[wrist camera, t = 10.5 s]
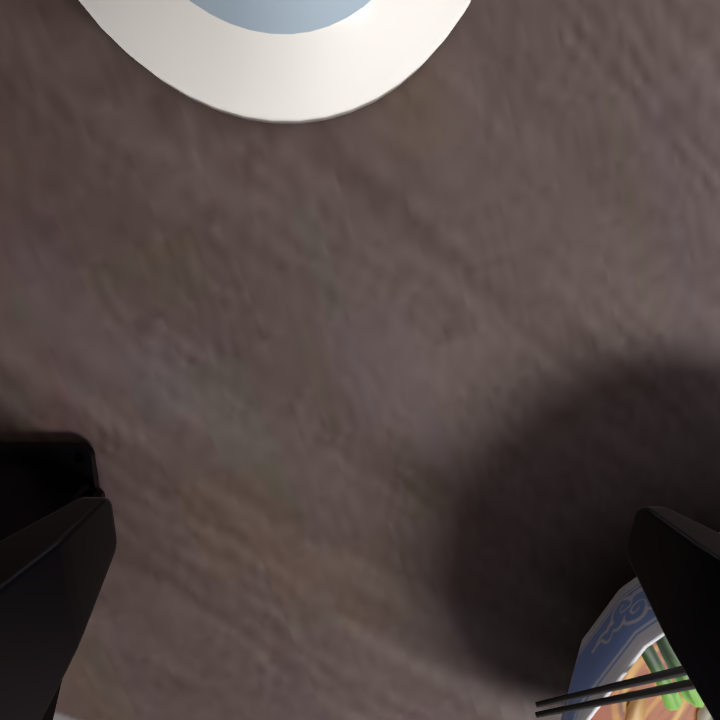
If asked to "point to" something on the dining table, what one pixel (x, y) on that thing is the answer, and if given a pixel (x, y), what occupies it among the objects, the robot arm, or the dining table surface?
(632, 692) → the ramen bowl
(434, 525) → the dining table surface
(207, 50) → the dish
